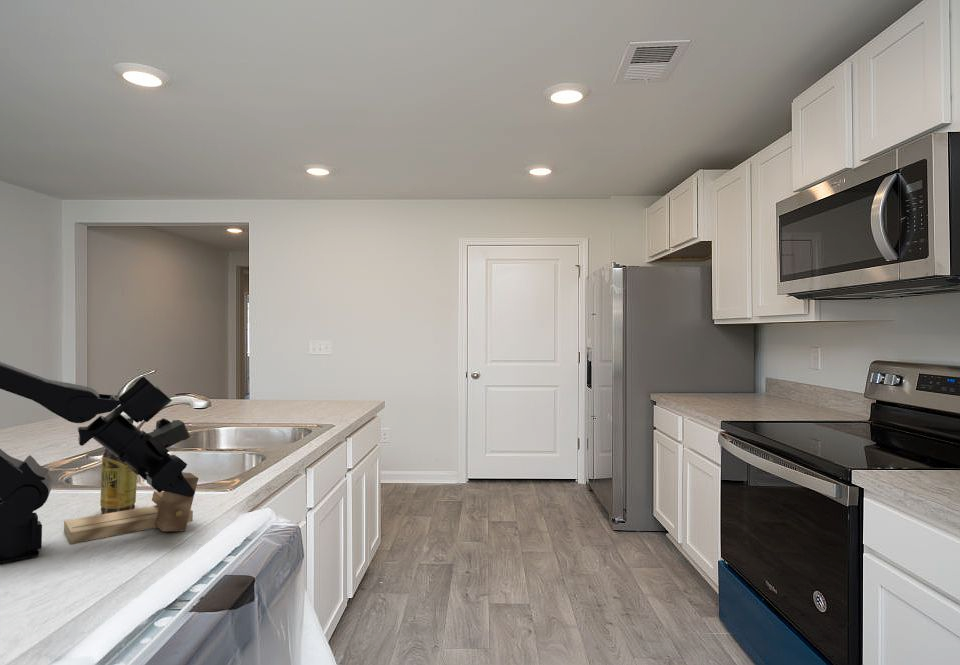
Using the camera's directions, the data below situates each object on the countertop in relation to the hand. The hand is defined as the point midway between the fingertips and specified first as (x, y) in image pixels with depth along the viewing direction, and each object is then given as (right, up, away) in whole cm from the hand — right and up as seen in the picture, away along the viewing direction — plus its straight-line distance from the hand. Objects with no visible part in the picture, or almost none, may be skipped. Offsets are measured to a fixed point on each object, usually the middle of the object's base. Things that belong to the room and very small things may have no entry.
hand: (188, 491), depth 111 cm
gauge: (-6, -6, +1) cm, 8 cm away
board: (-11, -6, -1) cm, 13 cm away
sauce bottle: (-18, -6, +7) cm, 21 cm away
